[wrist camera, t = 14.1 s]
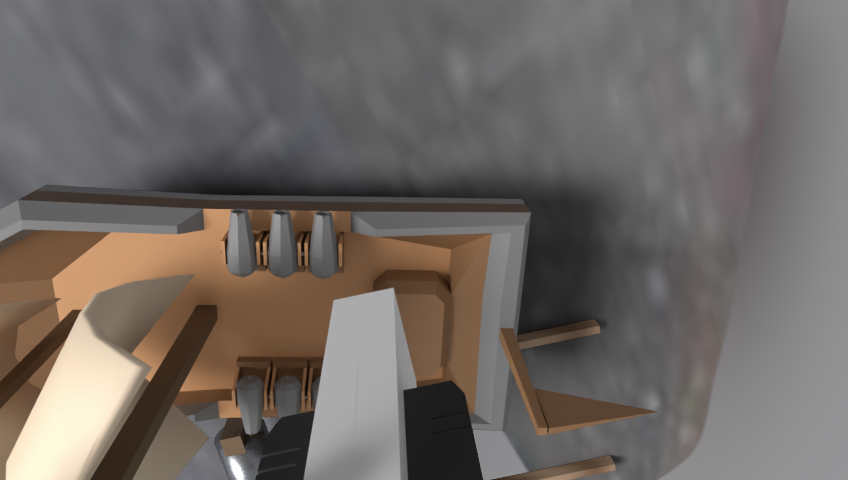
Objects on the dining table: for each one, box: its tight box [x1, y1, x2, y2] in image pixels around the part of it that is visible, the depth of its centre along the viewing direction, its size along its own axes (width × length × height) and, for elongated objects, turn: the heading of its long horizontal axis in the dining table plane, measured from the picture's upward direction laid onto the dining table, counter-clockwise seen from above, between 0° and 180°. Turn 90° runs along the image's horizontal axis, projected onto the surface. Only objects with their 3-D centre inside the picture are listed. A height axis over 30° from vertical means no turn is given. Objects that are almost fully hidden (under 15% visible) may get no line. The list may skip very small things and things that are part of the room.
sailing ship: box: [0, 185, 656, 480], centre depth 37 cm, size 16×45×27 cm, turn 87°
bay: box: [492, 319, 615, 480], centre depth 55 cm, size 21×15×2 cm
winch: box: [214, 417, 269, 480], centre depth 52 cm, size 4×13×7 cm, turn 11°
